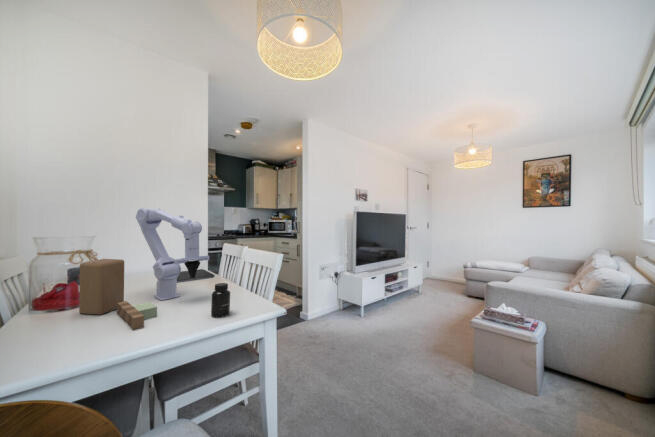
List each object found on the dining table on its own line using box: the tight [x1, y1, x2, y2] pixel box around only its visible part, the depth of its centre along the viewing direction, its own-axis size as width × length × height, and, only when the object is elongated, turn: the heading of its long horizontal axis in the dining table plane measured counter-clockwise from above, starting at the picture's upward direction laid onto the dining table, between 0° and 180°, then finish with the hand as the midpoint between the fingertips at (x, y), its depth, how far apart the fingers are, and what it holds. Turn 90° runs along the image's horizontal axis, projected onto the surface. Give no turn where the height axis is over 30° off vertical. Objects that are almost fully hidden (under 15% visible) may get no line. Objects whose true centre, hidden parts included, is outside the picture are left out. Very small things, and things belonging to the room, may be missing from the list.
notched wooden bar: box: [116, 300, 145, 331], centre depth 92 cm, size 22×3×4 cm, turn 51°
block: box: [78, 258, 125, 316], centre depth 100 cm, size 10×10×20 cm
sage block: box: [132, 301, 158, 321], centre depth 95 cm, size 8×6×4 cm
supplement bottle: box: [210, 282, 231, 318], centre depth 98 cm, size 7×7×12 cm
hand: (192, 277), depth 114 cm, fingers closed
